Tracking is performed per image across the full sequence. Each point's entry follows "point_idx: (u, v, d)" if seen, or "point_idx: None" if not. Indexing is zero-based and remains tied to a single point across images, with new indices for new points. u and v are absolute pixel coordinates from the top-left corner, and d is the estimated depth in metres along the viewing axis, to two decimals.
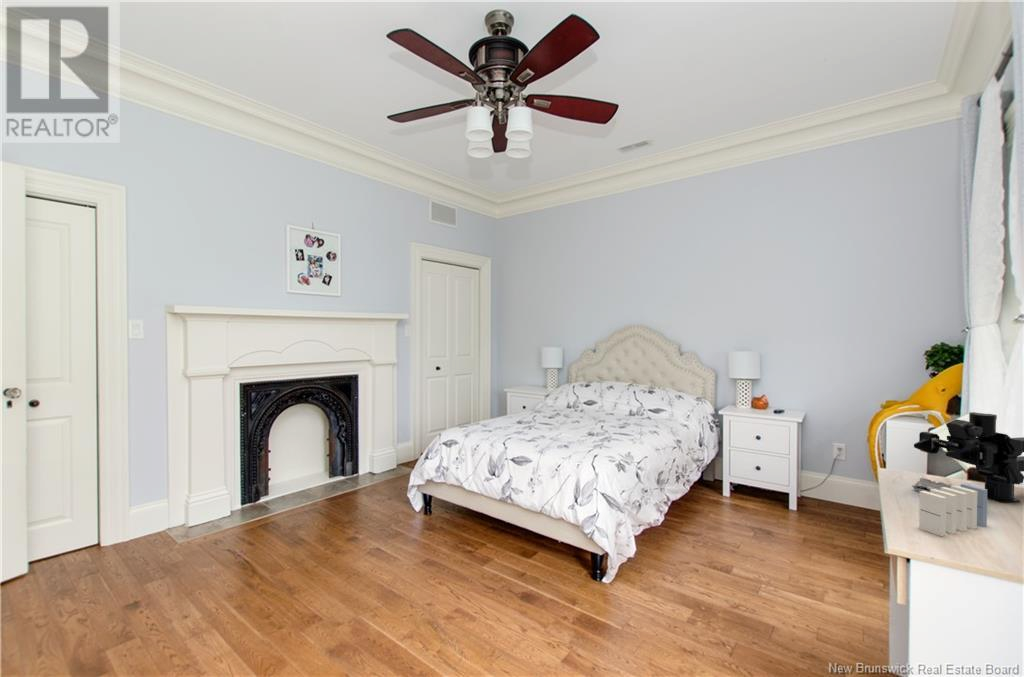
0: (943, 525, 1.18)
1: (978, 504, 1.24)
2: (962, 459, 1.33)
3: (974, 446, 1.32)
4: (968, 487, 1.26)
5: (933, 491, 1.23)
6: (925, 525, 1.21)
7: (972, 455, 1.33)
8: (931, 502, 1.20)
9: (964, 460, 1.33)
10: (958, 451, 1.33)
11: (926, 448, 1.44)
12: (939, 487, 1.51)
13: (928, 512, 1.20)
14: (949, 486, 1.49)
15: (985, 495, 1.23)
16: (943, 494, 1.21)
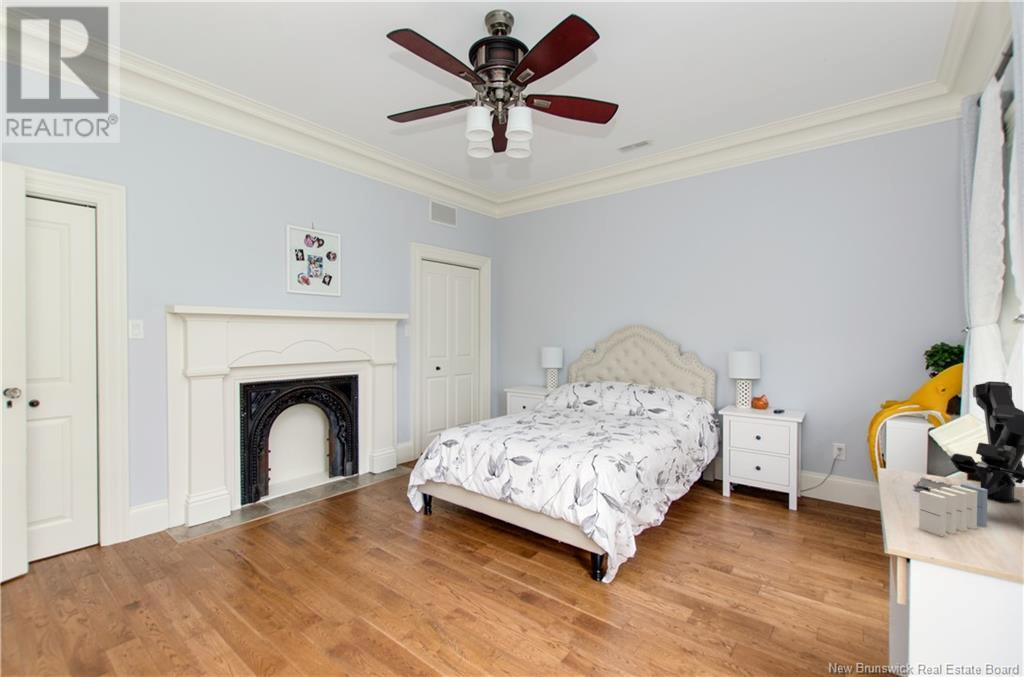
0: (943, 525, 1.18)
1: (978, 504, 1.24)
2: (998, 488, 1.26)
3: (1002, 473, 1.25)
4: (968, 487, 1.26)
5: (933, 491, 1.23)
6: (925, 525, 1.21)
7: (1004, 479, 1.26)
8: (931, 502, 1.20)
9: (1000, 488, 1.26)
10: (991, 485, 1.26)
11: None
12: (940, 487, 1.51)
13: (928, 512, 1.20)
14: (950, 486, 1.49)
15: (985, 495, 1.23)
16: (943, 494, 1.21)
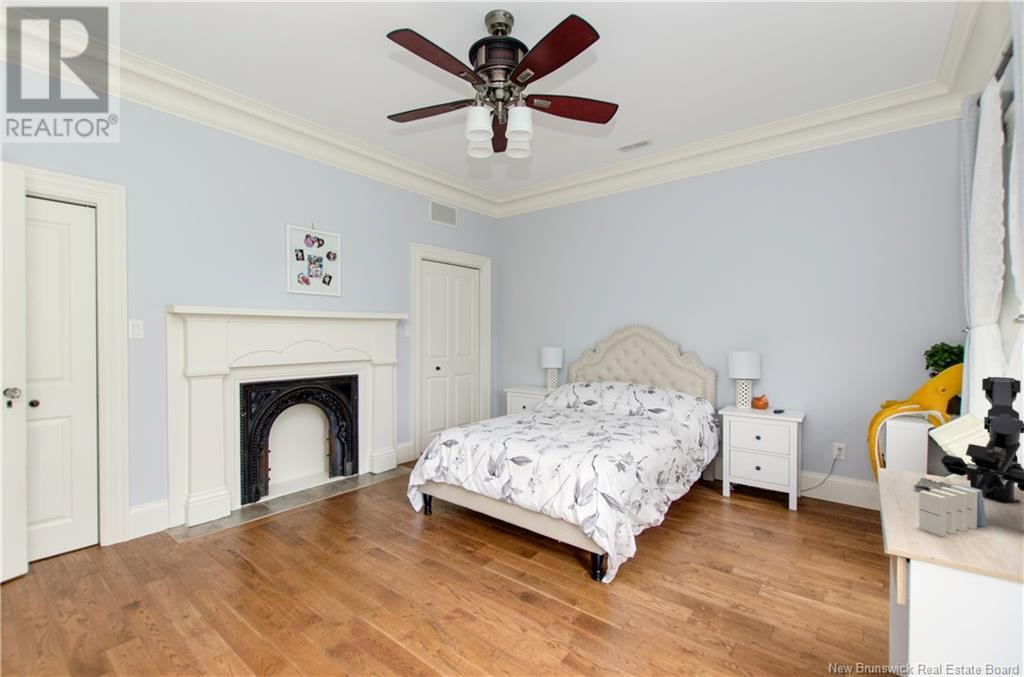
0: (943, 525, 1.18)
1: None
2: (988, 490, 1.25)
3: (991, 475, 1.23)
4: None
5: (933, 491, 1.23)
6: (925, 525, 1.21)
7: (994, 481, 1.24)
8: (931, 502, 1.20)
9: (990, 490, 1.25)
10: (981, 487, 1.24)
11: None
12: (940, 487, 1.51)
13: (928, 512, 1.20)
14: (950, 486, 1.49)
15: (980, 496, 1.22)
16: (943, 494, 1.21)
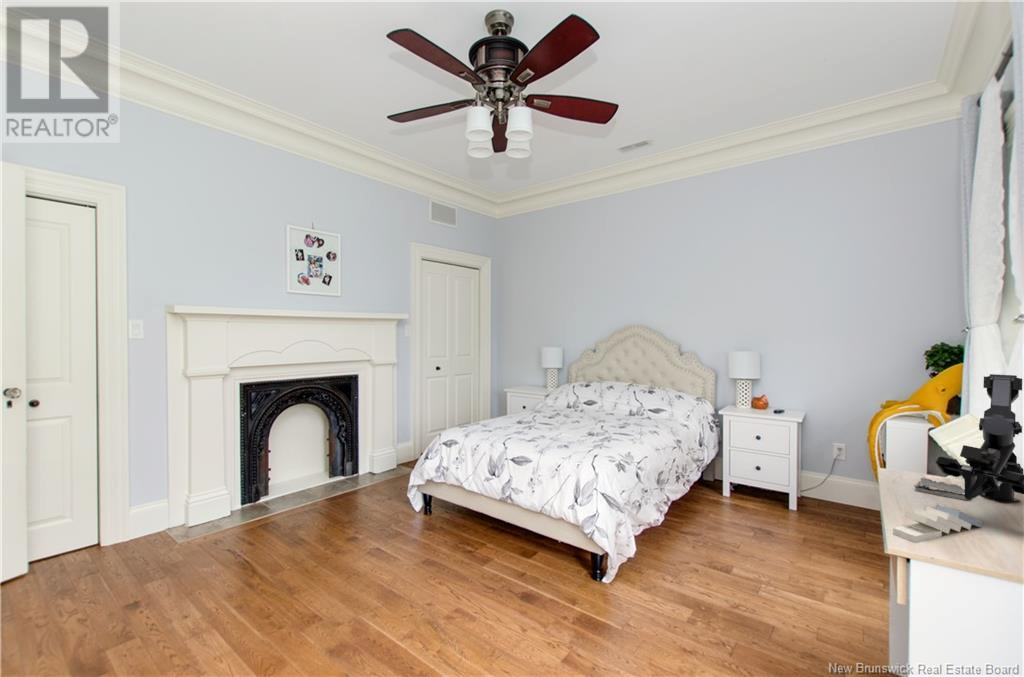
0: (934, 535, 1.17)
1: None
2: (982, 492, 1.24)
3: (986, 477, 1.23)
4: None
5: (907, 517, 1.20)
6: None
7: (988, 483, 1.24)
8: None
9: (984, 491, 1.24)
10: (975, 489, 1.24)
11: None
12: (940, 487, 1.51)
13: None
14: (950, 486, 1.50)
15: (962, 516, 1.20)
16: (916, 520, 1.18)
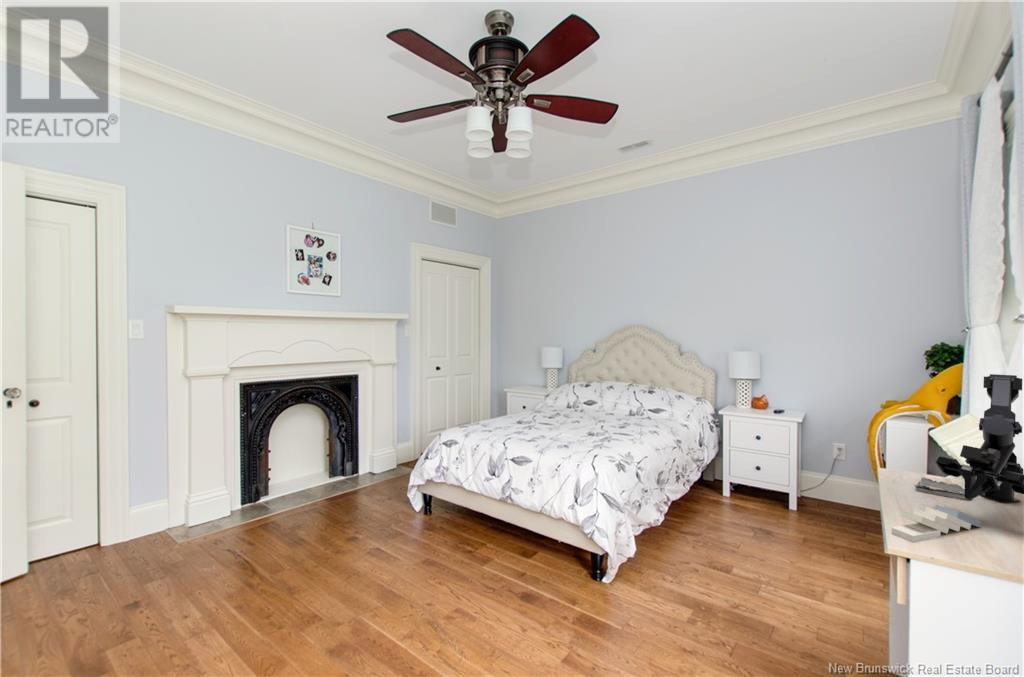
0: (933, 535, 1.17)
1: None
2: (982, 492, 1.24)
3: (986, 477, 1.23)
4: None
5: (903, 516, 1.20)
6: None
7: (988, 483, 1.24)
8: None
9: (984, 491, 1.24)
10: (975, 489, 1.24)
11: None
12: (940, 486, 1.52)
13: None
14: (950, 485, 1.50)
15: (961, 516, 1.20)
16: (913, 519, 1.18)
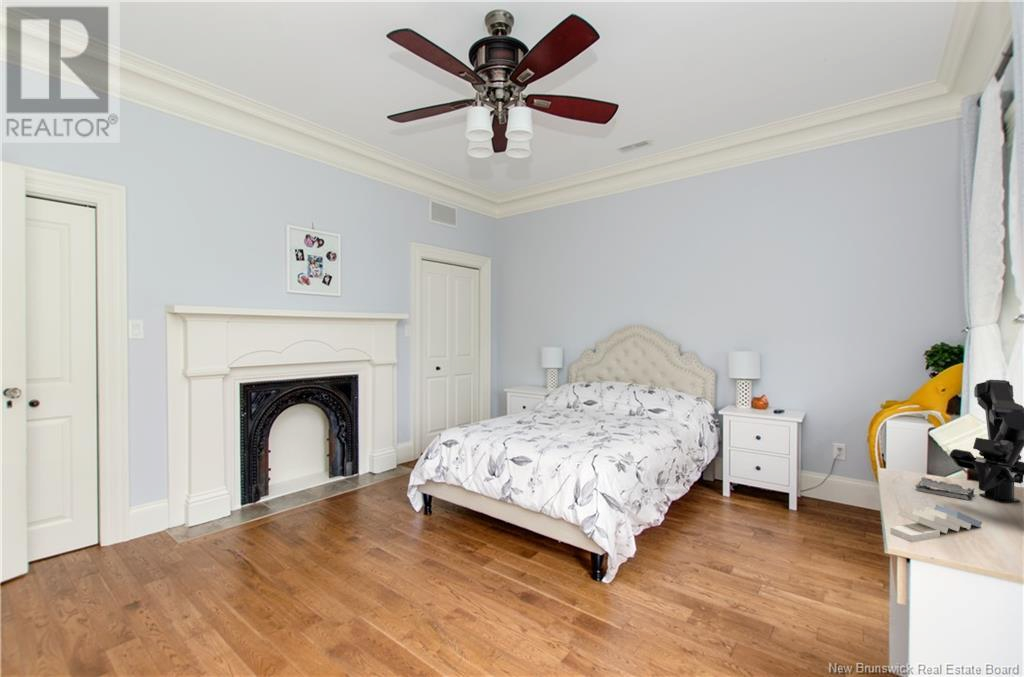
0: (932, 535, 1.17)
1: None
2: (997, 483, 1.26)
3: (999, 468, 1.25)
4: None
5: None
6: None
7: (1002, 474, 1.26)
8: None
9: (999, 483, 1.26)
10: (990, 480, 1.26)
11: None
12: (941, 486, 1.52)
13: None
14: (951, 485, 1.50)
15: (961, 516, 1.20)
16: (910, 519, 1.19)
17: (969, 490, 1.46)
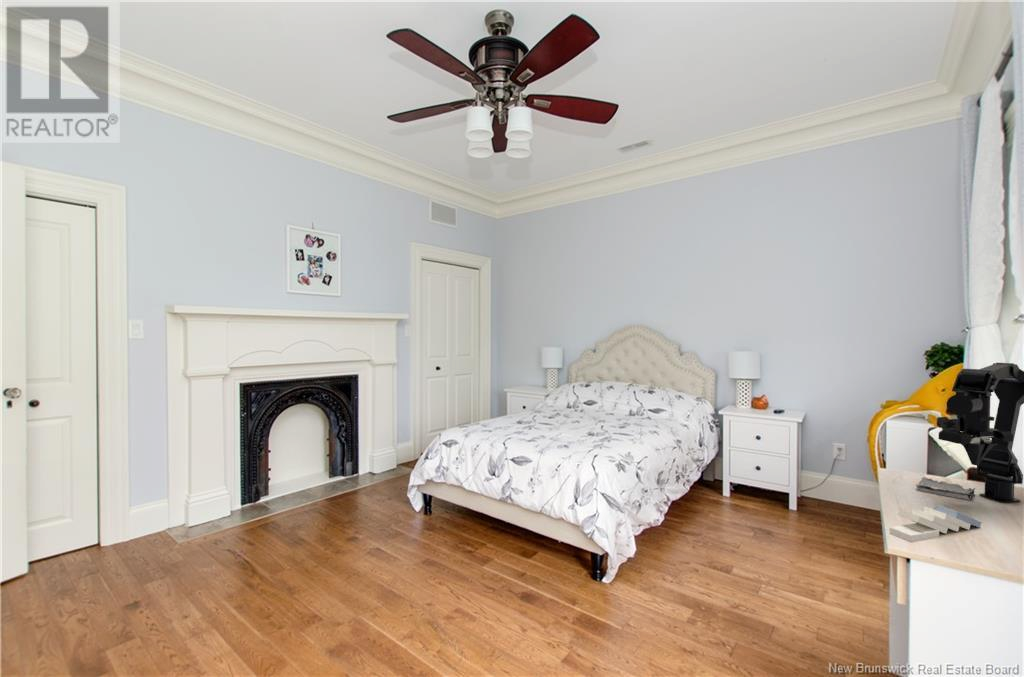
0: (931, 535, 1.17)
1: None
2: (976, 453, 1.33)
3: None
4: None
5: (901, 516, 1.21)
6: None
7: None
8: None
9: (976, 452, 1.33)
10: (968, 454, 1.35)
11: None
12: (941, 486, 1.52)
13: None
14: (951, 485, 1.50)
15: (960, 516, 1.20)
16: (910, 519, 1.19)
17: (969, 490, 1.46)
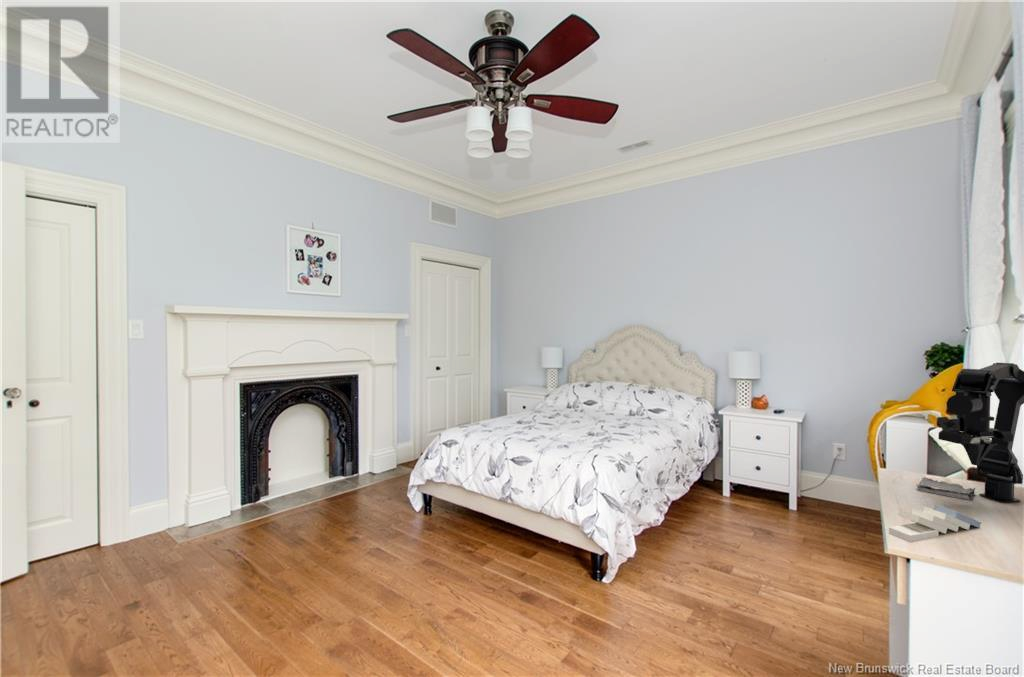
0: (930, 535, 1.17)
1: None
2: (976, 453, 1.33)
3: None
4: None
5: (901, 516, 1.21)
6: None
7: None
8: None
9: (976, 452, 1.33)
10: (968, 454, 1.35)
11: None
12: (941, 486, 1.52)
13: None
14: (951, 485, 1.50)
15: (960, 516, 1.20)
16: (910, 519, 1.19)
17: (970, 490, 1.47)
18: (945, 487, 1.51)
